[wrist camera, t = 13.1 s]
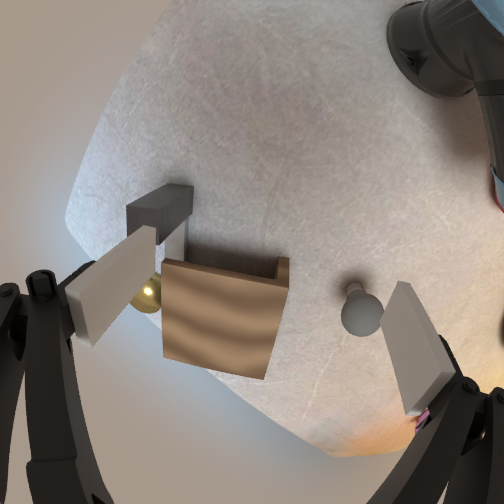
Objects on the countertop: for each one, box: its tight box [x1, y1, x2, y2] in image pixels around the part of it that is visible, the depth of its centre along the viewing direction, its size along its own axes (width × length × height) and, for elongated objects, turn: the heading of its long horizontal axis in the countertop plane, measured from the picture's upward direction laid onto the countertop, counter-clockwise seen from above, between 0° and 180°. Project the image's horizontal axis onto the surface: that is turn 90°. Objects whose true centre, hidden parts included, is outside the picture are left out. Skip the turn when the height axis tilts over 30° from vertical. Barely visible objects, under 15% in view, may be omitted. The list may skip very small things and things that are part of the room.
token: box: [130, 272, 161, 314], centre depth 46 cm, size 7×7×3 cm
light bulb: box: [341, 283, 384, 337], centre depth 38 cm, size 6×6×10 cm
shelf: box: [161, 257, 289, 380], centre depth 42 cm, size 17×16×8 cm
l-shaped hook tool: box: [126, 184, 194, 262], centre depth 39 cm, size 22×4×12 cm, turn 173°
